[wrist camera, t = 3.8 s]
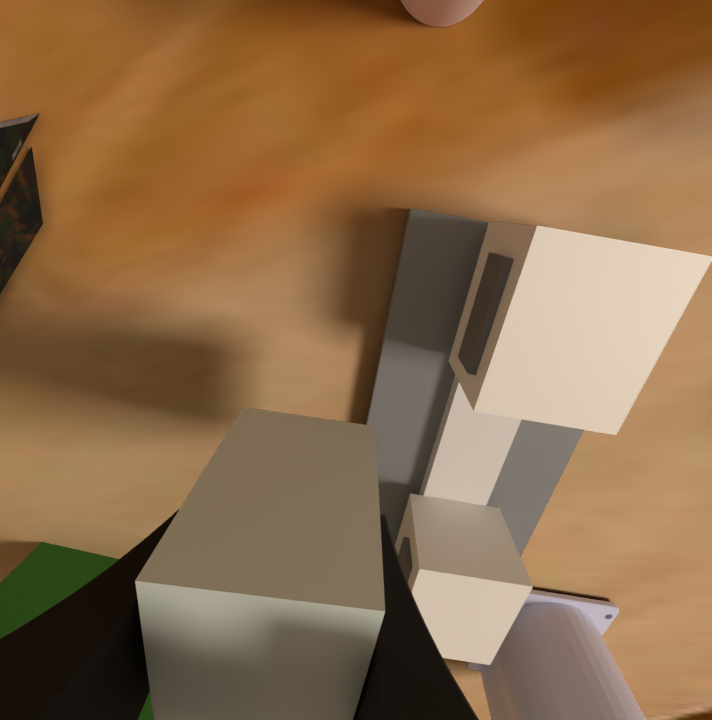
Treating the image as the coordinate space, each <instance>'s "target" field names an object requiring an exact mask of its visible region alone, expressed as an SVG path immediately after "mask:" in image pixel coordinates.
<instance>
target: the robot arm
mask: <svg viewBox="0 0 712 720" xmlns="http://www.w3.org/2000/svg"><path fill="white" fill-rule="evenodd" d="M178 511H179V510H178ZM178 511H177V512H175V513H174V514H173V515H172V516H171V517H170V518H169V519H168V520H166V521H165V522H164V523H163V524H162V525H161V526H159V527H158V528H157V529H156V530H155V531H154V532H152V533H151V534H150V535H149V536H148V537H147V538H145V539H144V540H143V541H142V542H141V543H139V544H138V545H137V546H136V547H134V548H133V549H132V550H130V551H129V552H128V553H127V554H125V555H124V556H123V557H122V558H120V559H119V560H118V561H117V562H115V563H114V564H113V565H111V566H110V567H109V568H107V569H106V570H105V571H103V572H102V573H101V574H99V575H98V576H96V577H95V578H94V579H92V580H91V581H90V582H88V583H87V584H85V585H84V586H82V587H81V588H79V589H78V590H77V591H75V592H74V593H72V594H71V595H69V596H68V597H66V598H65V599H63V600H62V601H60V602H59V603H57V604H56V605H54V606H53V607H51V608H49V609H48V610H46V611H45V612H43V613H42V614H40V615H39V616H37V617H36V618H34V619H32V620H31V621H29V622H28V623H26V624H24V625H23V626H21V627H19V628H18V629H16V630H14V631H13V632H11V633H9V634H7V635H6V636H4V637H2V638H1V639H0V720H138V718H139V716H140V713H141V711H142V708H143V706H144V704H145V701H146V699H147V697H148V694H149V692H150V687H149V679H148V672H147V665H146V657H145V650H144V643H143V635H142V628H141V621H140V613H139V606H138V599H137V592H136V584H135V580H136V579H137V577H138V575H139V574H140V572H141V571H142V569H143V567H144V566H145V564H146V562H147V561H148V559H149V558H150V556H151V554H152V553H153V551H154V550H155V548H156V546H157V545H158V543H159V542H160V540H161V538H162V537H163V535H164V533H165V532H166V530H167V529H168V527H169V525H170V524H171V522H172V521H173V519H174V517H175V516H176V514H177V513H178ZM380 524H381V543H382V561H383V580H384V599H385V614H384V617H383V621H382V624H381V627H380V631H379V634H378V637H377V641H376V644H375V648H374V651H373V654H372V658H371V661H370V664H369V668H368V671H367V675H366V678H365V681H364V685H363V688H362V691H361V695H360V698H359V701H358V705H357V708H356V712H355V715H354V718H353V720H479V719H478V718H477V716H476V714H475V713H474V711H473V709H472V708H471V706H470V704H469V703H468V701H467V699H466V698H465V696H464V694H463V693H462V691H461V689H460V688H459V686H458V684H457V683H456V681H455V679H454V677H453V676H452V674H451V672H450V670H449V668H448V667H447V665H446V663H445V661H444V659H443V657H442V656H441V654H440V652H439V650H438V648H437V646H436V644H435V642H434V640H433V638H432V636H431V634H430V632H429V630H428V628H427V626H426V624H425V622H424V619H423V617H422V615H421V613H420V611H419V608H418V606H417V604H416V601H415V599H414V597H413V594H412V592H411V590H410V587H409V585H408V582H407V579H406V577H405V574H404V572H403V569H402V566H401V564H400V561H399V558H398V555H397V552H396V549H395V546H394V542H393V539H392V536H391V532H390V528H389V524H388V520H387V517H386V516H385V515H382V514H380ZM618 613H619V609H618V607H617V605H616V604H615V603H613V602H608V601H601V600H595V599H589V598H583V597H576V596H570V595H564V594H557V593H551V592H545V591H538V590H531V591H530V593H529V595H528V597H527V599H526V600H525V602H524V604H523V606H522V608H521V610H520V611H519V613H518V615H517V617H516V619H515V621H514V622H513V624H512V626H511V628H510V630H509V631H508V633H507V635H506V637H505V639H504V641H503V642H502V644H501V646H500V648H499V650H498V652H497V653H496V655H495V657H494V659H493V661H492V663H491V664H490V665H486V664H480V663H473V662H467V664H468V668H469V669H471V670H475V671H480V672H481V676H482V681H483V685H484V689H485V694H486V698H487V702H488V707H489V711H490V715H491V720H646V718H645V716H644V715H643V713H642V711H641V709H640V707H639V705H638V703H637V702H636V700H635V698H634V696H633V694H632V692H631V690H630V688H629V687H628V685H627V683H626V681H625V679H624V677H623V675H622V674H621V672H620V670H619V668H618V666H617V664H616V662H615V660H614V659H613V657H612V655H611V653H610V651H609V649H608V647H607V646H606V644H605V642H604V640H603V638H602V635H603V633H604V632H605V631H606V629H607V628H608V627H609V625H610V624H611V622H612V621H613V620H614V618H615V617H616V616H617V614H618Z"/></svg>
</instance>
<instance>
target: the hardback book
mask: <svg viewBox="0 0 712 720" xmlns="http://www.w3.org/2000/svg"><path fill="white" fill-rule="evenodd" d="M118 560H119V559H115V558H111V557H106V556H102V555H98V554H93V553H89V552H84V551H80V550H75V549H71V548H66V547H62V546H57V545H53V544H49V543H44V542H42V543H41V544H40V545H39V546H38V547H37V548H36V549H35V550H34V551H33V552H32V553H31V554H30V555H29V556H28V557H27V558H26V559H25V560H24V561H23V562H22V563H21V564H20V565H19V566H18V567H17V568H16V569H15V570H14V571H13V572H12V573H11V574H10V575H9V576H8V577H7V578H6V579H5V580H4V581H3V582H1V583H0V639H1V638H2V637H4V636H6V635H7V634H9V633H11V632H13V631H14V630H16V629H18V628H19V627H21V626H23V625H24V624H26V623H28V622H29V621H31V620H32V619H34V618H36V617H37V616H39V615H40V614H42V613H43V612H45V611H46V610H48V609H49V608H51V607H53V606H54V605H56V604H57V603H59V602H60V601H62V600H63V599H65V598H66V597H68V596H69V595H71V594H72V593H74V592H75V591H77V590H78V589H79V588H81V587H82V586H84V585H85V584H87V583H88V582H90V581H91V580H92V579H94V578H95V577H96V576H98V575H99V574H101V573H102V572H103V571H105V570H106V569H107V568H109V567H110V566H111V565H113V564H114V563H115V562H117V561H118ZM138 720H154V716H153V709H152V701H151V694H150V692H149V694H148V697H147V699H146V701H145V704H144V706H143V708H142V711H141V713H140V716H139V718H138Z"/></svg>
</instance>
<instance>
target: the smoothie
mask: <svg viewBox="0 0 712 720" xmlns="http://www.w3.org/2000/svg"><path fill="white" fill-rule="evenodd" d="M400 1H401V3H402V4H403V6H404V7H405V9H406V10H407V11H408V12H409V14H410V15H411V16H413V17H414V18H415V19H416V20H418V21H419V22H421V23H423V24H426V25H429V26H433V27H445V26H450V25H453V24H456V23H458V22H460V21H462V20H464V19H465V18H467V17H468V16H469V15H470V14H472V13H473V12H474V11H475V10H476V9H477V7H478V6H479V5H480V4H481V3H482V1H483V0H400Z"/></svg>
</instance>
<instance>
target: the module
mask: <svg viewBox="0 0 712 720" xmlns="http://www.w3.org/2000/svg"><path fill="white" fill-rule="evenodd" d="M135 584H136V592H137V599H138V606H139V613H140V621H141V628H142V635H143V643H144V650H145V657H146V665H147V672H148V679H149V687H150V694H151V701H152V709H153V716H154V720H353V718H354V715H355V712H356V708H357V705H358V701H359V698H360V695H361V691H362V688H363V685H364V681H365V678H366V675H367V671H368V668H369V664H370V661H371V658H372V654H373V651H374V648H375V644H376V641H377V637H378V634H379V631H380V627H381V624H382V621H383V617H384V614H385V599H384V580H383V561H382V543H381V524H380V506H379V487H378V468H377V450H376V431H375V426H371V425H364V424H357V423H350V422H343V421H336V420H329V419H322V418H315V417H308V416H301V415H294V414H288V413H281V412H274V411H267V410H260V409H253V408H246V407H243V408H242V410H241V411H240V413H239V414H238V416H237V418H236V419H235V421H234V422H233V424H232V426H231V427H230V429H229V430H228V432H227V434H226V435H225V437H224V438H223V440H222V442H221V443H220V445H219V447H218V448H217V450H216V451H215V453H214V455H213V456H212V458H211V459H210V461H209V463H208V464H207V466H206V467H205V469H204V471H203V472H202V474H201V476H200V477H199V479H198V480H197V482H196V484H195V485H194V487H193V488H192V490H191V492H190V493H189V495H188V496H187V498H186V500H185V501H184V503H183V505H182V506H181V508H180V509H179V511H178V513H177V514H176V516H175V517H174V519H173V521H172V522H171V524H170V525H169V527H168V529H167V530H166V532H165V533H164V535H163V537H162V538H161V540H160V542H159V543H158V545H157V546H156V548H155V550H154V551H153V553H152V554H151V556H150V558H149V559H148V561H147V562H146V564H145V566H144V567H143V569H142V571H141V572H140V574H139V575H138V577H137V579H136V580H135Z"/></svg>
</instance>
